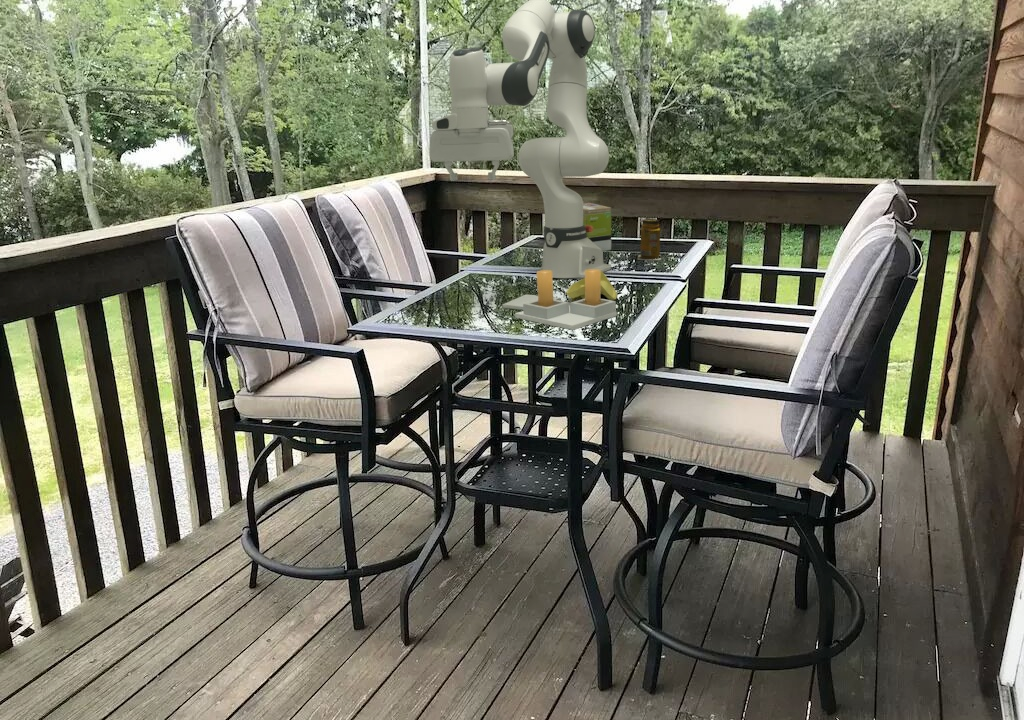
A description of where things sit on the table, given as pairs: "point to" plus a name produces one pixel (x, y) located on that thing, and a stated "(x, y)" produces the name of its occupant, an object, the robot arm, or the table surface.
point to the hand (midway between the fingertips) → (472, 180)
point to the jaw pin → (545, 288)
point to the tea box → (598, 224)
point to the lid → (522, 301)
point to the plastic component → (578, 289)
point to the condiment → (650, 240)
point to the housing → (573, 307)
